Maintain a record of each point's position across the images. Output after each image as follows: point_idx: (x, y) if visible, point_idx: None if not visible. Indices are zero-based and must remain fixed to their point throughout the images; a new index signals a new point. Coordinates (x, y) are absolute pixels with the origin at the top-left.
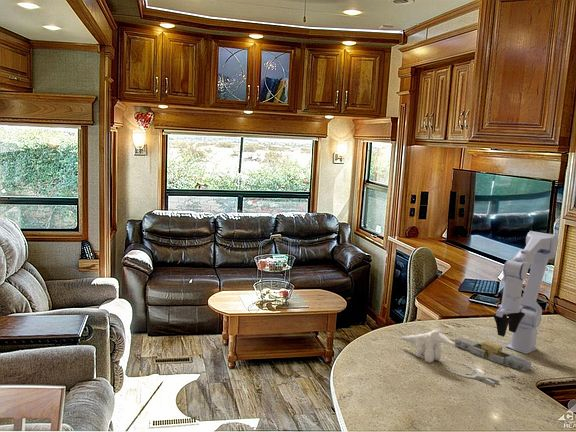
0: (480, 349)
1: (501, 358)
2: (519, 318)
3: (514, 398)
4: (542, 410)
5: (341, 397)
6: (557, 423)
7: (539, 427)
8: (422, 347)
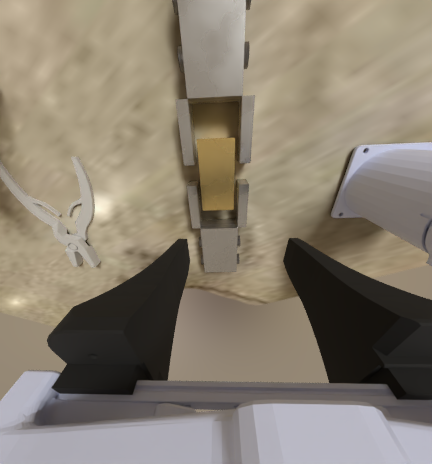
0: (187, 144)
1: (191, 222)
2: (321, 350)
3: (88, 294)
4: None
5: None
6: None
7: None
8: None
